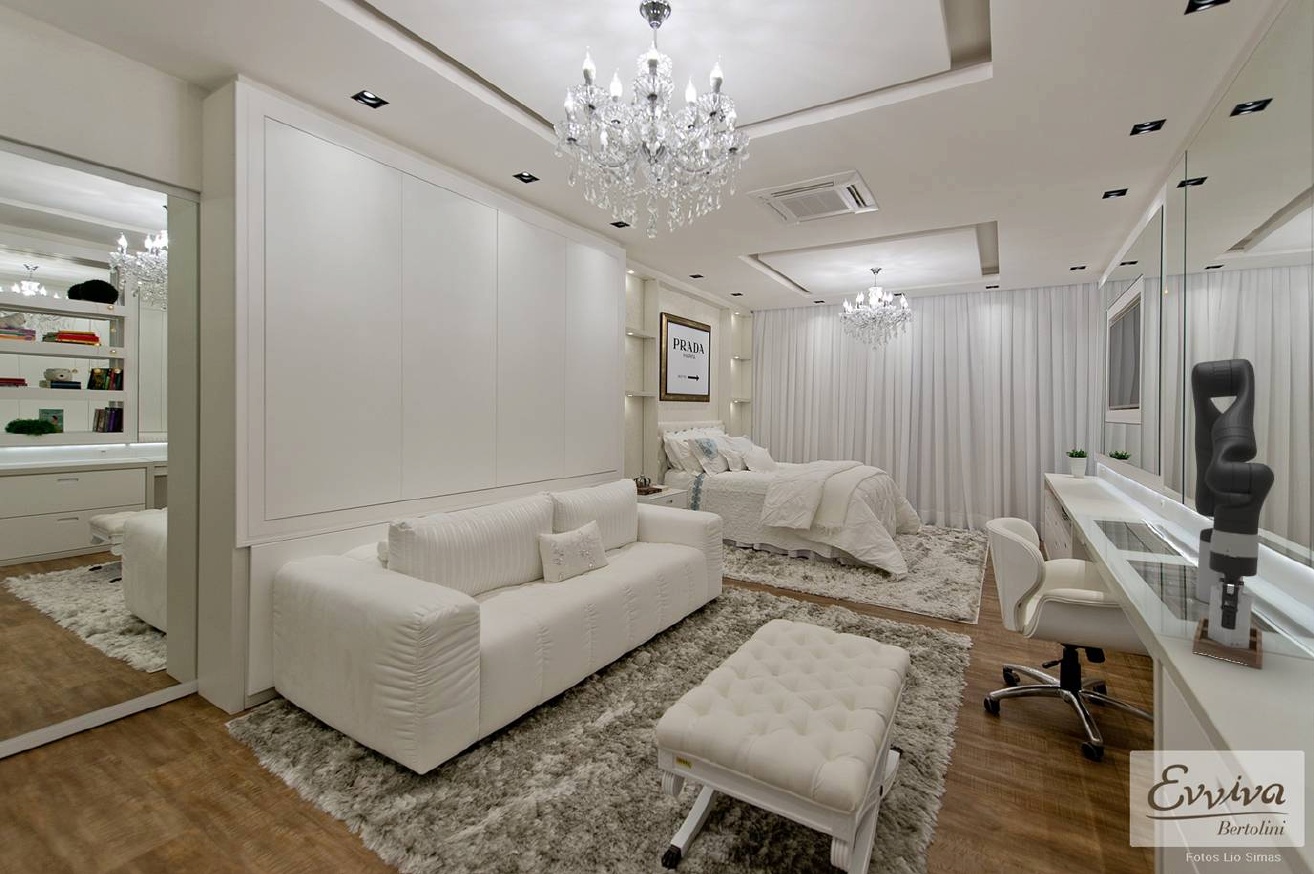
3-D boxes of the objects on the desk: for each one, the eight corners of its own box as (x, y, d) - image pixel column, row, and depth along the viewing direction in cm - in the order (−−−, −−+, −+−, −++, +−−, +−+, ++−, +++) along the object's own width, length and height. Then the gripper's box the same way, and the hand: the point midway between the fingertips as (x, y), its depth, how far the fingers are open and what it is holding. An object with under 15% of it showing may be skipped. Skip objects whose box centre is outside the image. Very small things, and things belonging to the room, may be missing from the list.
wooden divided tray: (1199, 628, 143) (1200, 609, 142) (1260, 641, 135) (1262, 621, 135) (1192, 653, 129) (1194, 631, 128) (1261, 669, 121) (1262, 646, 121)
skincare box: (1249, 649, 125) (1253, 596, 124) (1226, 647, 126) (1230, 594, 125) (1228, 638, 131) (1231, 587, 130) (1206, 636, 132) (1209, 585, 131)
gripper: (1212, 543, 135) (1207, 611, 136) (1208, 553, 125) (1203, 627, 126) (1258, 549, 129) (1253, 620, 130) (1258, 560, 120) (1252, 637, 121)
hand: (1228, 623), depth 128 cm, fingers closed on skincare box, 7 cm apart
